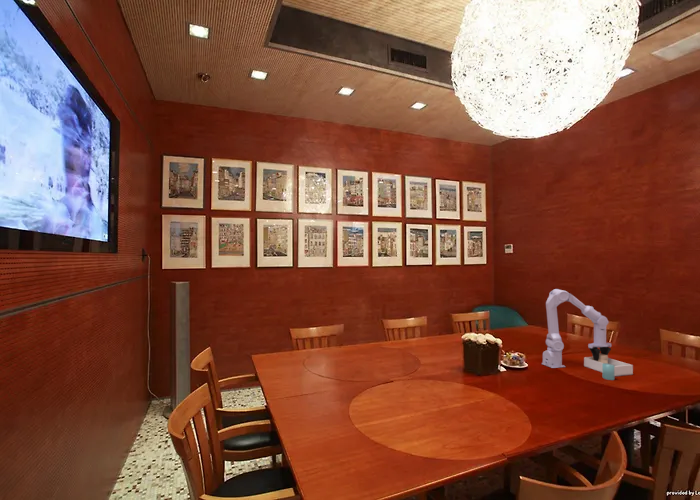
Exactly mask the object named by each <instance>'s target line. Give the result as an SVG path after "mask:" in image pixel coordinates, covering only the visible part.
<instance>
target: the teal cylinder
mask: <svg viewBox="0 0 700 500" xmlns="http://www.w3.org/2000/svg"><path fill="white" fill-rule="evenodd" d="M601 373H602V375H601V376H602V377H601V378H603V379H604V380H607V381H614V380H615V378H616V376H615V375H614V365H612V364H607V363H603V364H602V372H601Z"/></svg>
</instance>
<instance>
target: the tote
mask: <svg viewBox="0 0 700 500" xmlns="http://www.w3.org/2000/svg"><path fill="white" fill-rule="evenodd" d="M602 364H603V363H601V362H598V361H595V360H592V356H584V357H583V366H584V368H585V367H586V368H587V369H592V370H594V371H597V372H600V373H602ZM608 364H612V365H614V375H615V377H622V376H632V375H634V373H633V372H634V365H633V364H630V363H626V362H625V361H624V362H623V361H619V360H616V359H613V358H611V357H608Z"/></svg>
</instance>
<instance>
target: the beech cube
mask: <svg viewBox="0 0 700 500" xmlns="http://www.w3.org/2000/svg"><path fill="white" fill-rule="evenodd" d="M591 357H592V360H594V358H593V355H592V356H591ZM608 358H609V354H608V355H605V354H601V352H600V353H599V360H598V362H601V363H607V364H608ZM595 361H596V360H595Z"/></svg>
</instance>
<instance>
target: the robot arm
mask: <svg viewBox="0 0 700 500" xmlns="http://www.w3.org/2000/svg"><path fill="white" fill-rule="evenodd" d="M564 302H569V303H571V304H572V305H573V306H575V307H576V308H578V309H580V311H581V314H583V315H584V316H585V317H586V318H588V319H589V320H590V321H591V323H592V324H593V342H592V343H588V345H587V346H588V349H589V351H590V353H591V354H592V355H593V358H594V360H596V361H598V360H599V353H601V354H605V355H608V356H609V354H610V351H611V350H612V348H611V347H612V343H611V342H607V326H608V325H609V320H608V317H606V316H605V315H602V313H601V312H600V311H597V310H596V309H594V308H595V307H593V306H592V305H591V306H590V305H585V303H583V302H582V301H580V300H579V299H578V298H577V297H576V296H574V295H573V294H572V293H571V292H570V293H569V292H568V291H566V290H562V289H559V288H555V289H553V290H551V291H550V292H549V295H548V297H547V300H546V301H545V309H546V320H547V331H548V333H547V334H546V339H545V345H546V346H547V350H545V351H543V352H542V362H541V365H544V366H546V367H549V368H551V369H556V368H558V369H559V368H566V366H565V365H564V364H563V355H562V354H563V353H562V352H563V349H564V347H565V345H564V342H563V340H562V337H561V334H560V331H559V330H560V329H559V317H558V309H557V307H558V306H559V305H561V304H563V303H564Z"/></svg>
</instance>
